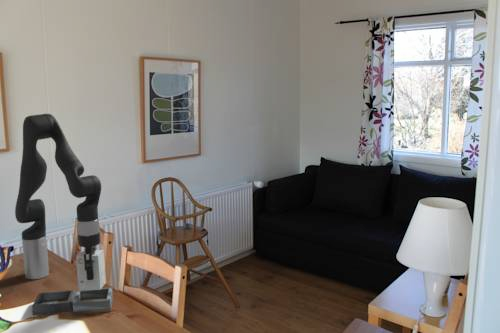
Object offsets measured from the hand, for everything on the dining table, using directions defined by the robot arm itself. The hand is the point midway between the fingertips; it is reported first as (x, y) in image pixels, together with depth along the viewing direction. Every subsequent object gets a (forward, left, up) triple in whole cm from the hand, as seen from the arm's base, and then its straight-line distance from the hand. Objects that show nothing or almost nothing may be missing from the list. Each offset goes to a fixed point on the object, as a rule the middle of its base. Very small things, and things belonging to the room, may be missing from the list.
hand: (91, 275), depth 162 cm
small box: (0, 0, -5) cm, 5 cm away
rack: (0, 0, -12) cm, 12 cm away
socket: (-3, -14, -12) cm, 18 cm away
